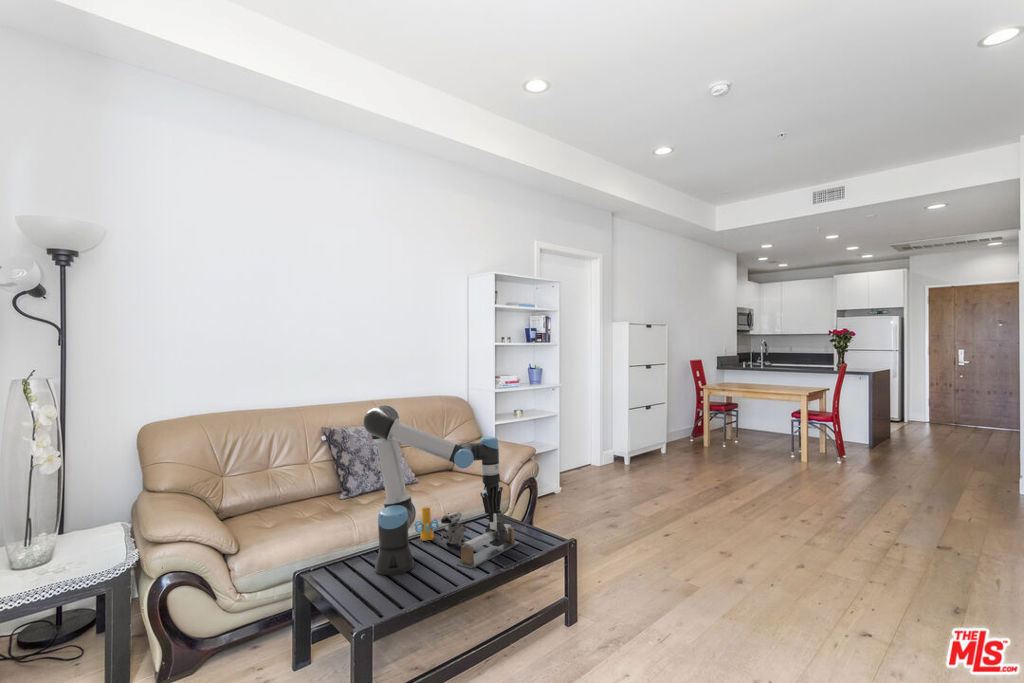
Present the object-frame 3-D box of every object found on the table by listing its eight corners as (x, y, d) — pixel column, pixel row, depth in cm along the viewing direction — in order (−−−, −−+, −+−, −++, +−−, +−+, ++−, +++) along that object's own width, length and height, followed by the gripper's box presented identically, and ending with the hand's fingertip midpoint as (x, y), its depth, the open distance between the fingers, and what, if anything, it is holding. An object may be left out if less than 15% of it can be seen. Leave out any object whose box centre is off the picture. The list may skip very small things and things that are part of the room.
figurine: (436, 549, 227) (434, 515, 227) (455, 542, 235) (454, 508, 236) (449, 553, 221) (448, 518, 221) (469, 546, 229) (468, 511, 230)
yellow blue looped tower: (409, 543, 237) (408, 509, 238) (420, 535, 247) (419, 503, 248) (434, 544, 233) (432, 510, 234) (443, 536, 243) (442, 504, 244)
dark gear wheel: (504, 547, 219) (503, 524, 220) (486, 544, 225) (485, 520, 225) (507, 546, 221) (506, 522, 222) (489, 542, 227) (488, 519, 227)
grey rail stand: (472, 568, 203) (471, 546, 204) (456, 564, 208) (456, 543, 208) (518, 543, 229) (517, 524, 230) (504, 540, 234) (503, 521, 234)
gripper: (488, 477, 215) (490, 534, 214) (506, 471, 226) (509, 525, 225) (474, 475, 220) (477, 531, 219) (493, 469, 230) (495, 523, 229)
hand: (493, 528), depth 222 cm, fingers closed
